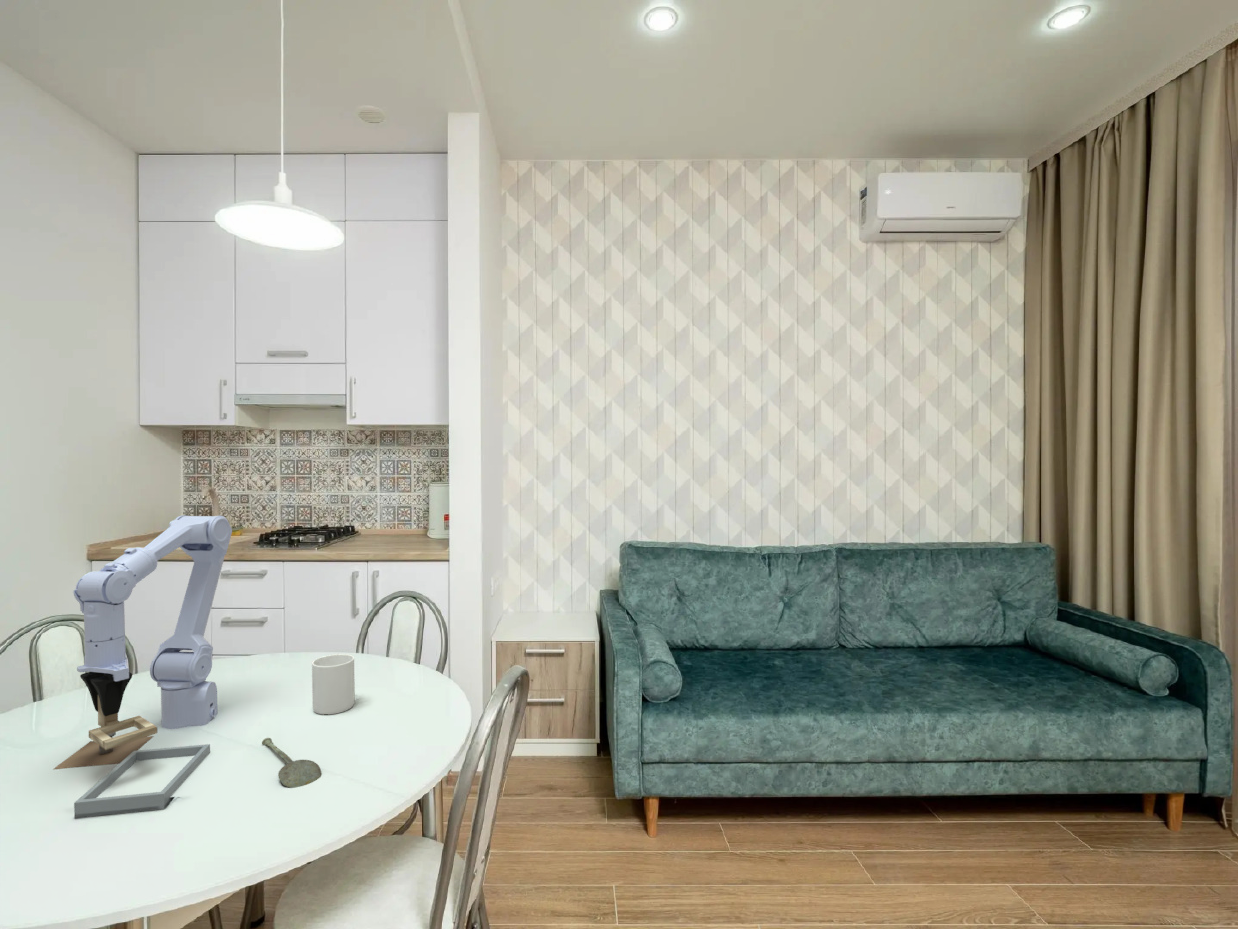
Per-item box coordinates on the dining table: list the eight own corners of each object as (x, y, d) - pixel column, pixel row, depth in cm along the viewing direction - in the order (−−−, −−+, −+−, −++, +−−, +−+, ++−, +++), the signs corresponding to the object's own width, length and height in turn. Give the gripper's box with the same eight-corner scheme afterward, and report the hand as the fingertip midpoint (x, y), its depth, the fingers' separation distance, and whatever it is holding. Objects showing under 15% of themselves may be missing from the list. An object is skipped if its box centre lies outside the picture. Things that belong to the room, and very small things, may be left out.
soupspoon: (286, 799, 109) (326, 786, 113) (286, 779, 109) (327, 767, 113) (248, 750, 125) (285, 741, 129) (249, 733, 124) (285, 724, 129)
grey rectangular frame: (210, 757, 121) (209, 744, 121) (164, 809, 104) (163, 794, 104) (134, 764, 119) (134, 750, 119) (74, 818, 101) (74, 802, 101)
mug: (349, 692, 153) (349, 647, 152) (357, 710, 142) (356, 662, 142) (309, 699, 148) (308, 653, 148) (314, 718, 138) (313, 669, 138)
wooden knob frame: (157, 733, 114) (156, 703, 114) (105, 750, 108) (105, 718, 108) (129, 715, 121) (128, 686, 121) (79, 730, 115) (78, 700, 114)
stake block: (153, 741, 128) (153, 718, 128) (123, 768, 117) (122, 743, 117) (90, 746, 126) (89, 723, 125) (53, 774, 115) (52, 749, 115)
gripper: (62, 636, 117) (64, 710, 117) (93, 650, 109) (95, 729, 109) (109, 627, 123) (111, 697, 123) (142, 639, 115) (144, 715, 115)
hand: (107, 711), depth 117 cm, fingers closed on wooden knob frame, 3 cm apart
